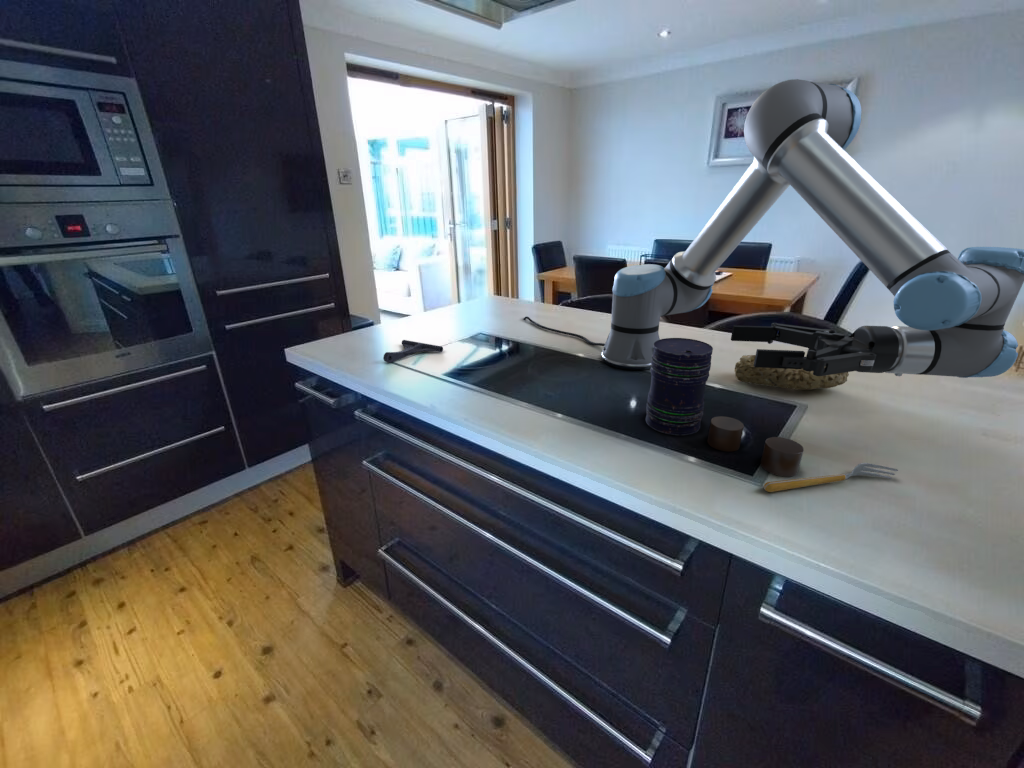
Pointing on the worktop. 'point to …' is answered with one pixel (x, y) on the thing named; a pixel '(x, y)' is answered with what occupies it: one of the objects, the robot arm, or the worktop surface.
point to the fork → (827, 478)
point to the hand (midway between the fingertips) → (742, 344)
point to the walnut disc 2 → (781, 456)
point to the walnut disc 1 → (725, 433)
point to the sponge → (784, 376)
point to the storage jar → (678, 385)
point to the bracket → (410, 350)
